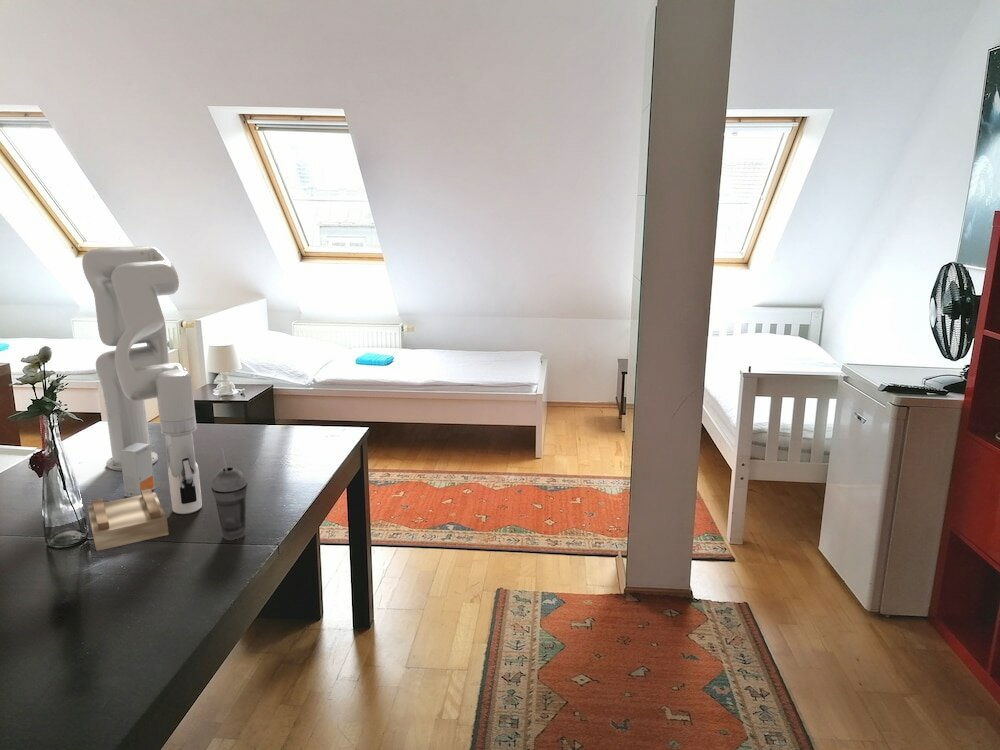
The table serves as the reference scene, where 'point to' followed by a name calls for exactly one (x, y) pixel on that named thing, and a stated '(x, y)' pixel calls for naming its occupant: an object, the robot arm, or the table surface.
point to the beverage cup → (230, 500)
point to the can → (176, 495)
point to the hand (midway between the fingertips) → (186, 496)
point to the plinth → (127, 520)
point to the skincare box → (137, 469)
